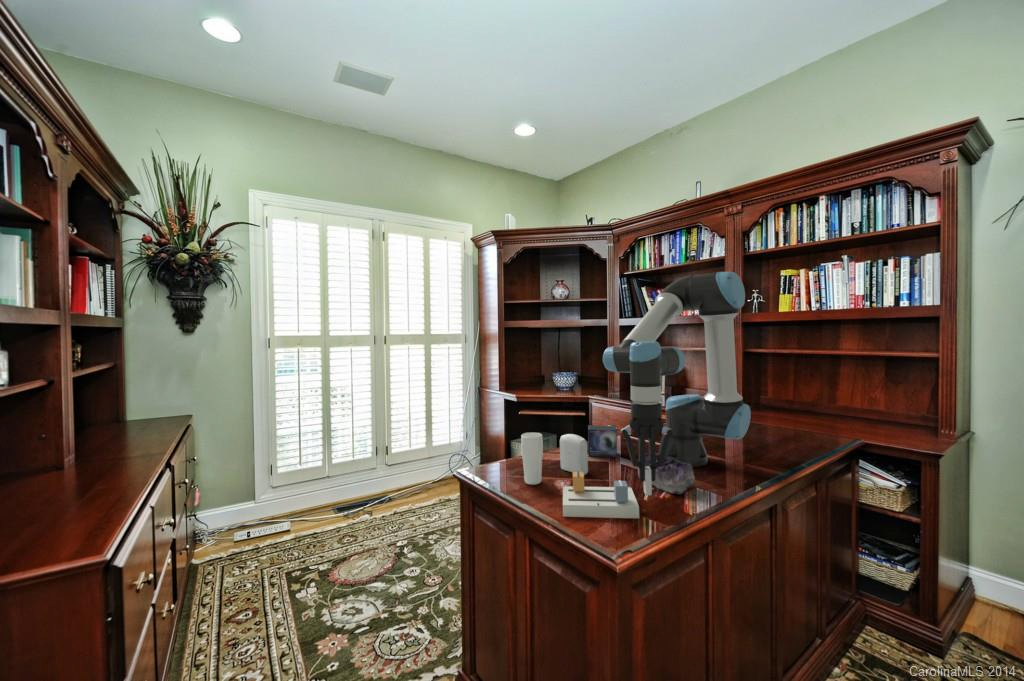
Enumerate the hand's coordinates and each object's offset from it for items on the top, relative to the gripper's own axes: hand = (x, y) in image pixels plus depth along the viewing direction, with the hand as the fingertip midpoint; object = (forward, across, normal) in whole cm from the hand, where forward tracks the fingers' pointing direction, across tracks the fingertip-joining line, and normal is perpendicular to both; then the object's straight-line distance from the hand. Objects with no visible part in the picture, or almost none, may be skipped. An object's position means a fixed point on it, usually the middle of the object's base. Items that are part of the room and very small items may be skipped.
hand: (647, 493), depth 110 cm
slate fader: (+2, +7, 0) cm, 7 cm away
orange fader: (+2, +17, -7) cm, 19 cm away
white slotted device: (+6, +18, -32) cm, 37 cm away
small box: (+6, +7, -51) cm, 52 cm away
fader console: (+5, +12, -3) cm, 14 cm away
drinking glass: (+5, +31, -21) cm, 38 cm away
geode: (+6, -8, -22) cm, 24 cm away
